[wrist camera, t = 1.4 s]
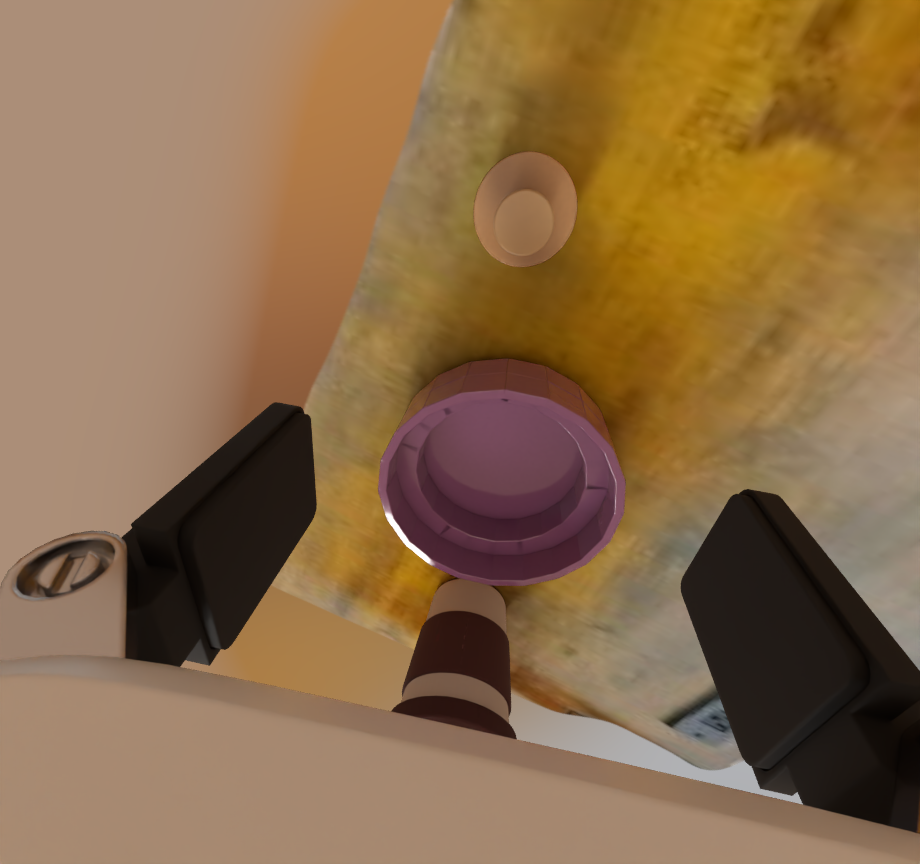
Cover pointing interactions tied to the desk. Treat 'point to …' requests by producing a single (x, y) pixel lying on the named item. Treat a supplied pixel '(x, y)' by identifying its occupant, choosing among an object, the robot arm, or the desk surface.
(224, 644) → the robot arm
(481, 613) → the coffee cup
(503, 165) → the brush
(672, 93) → the desk surface
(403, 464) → the bowl
